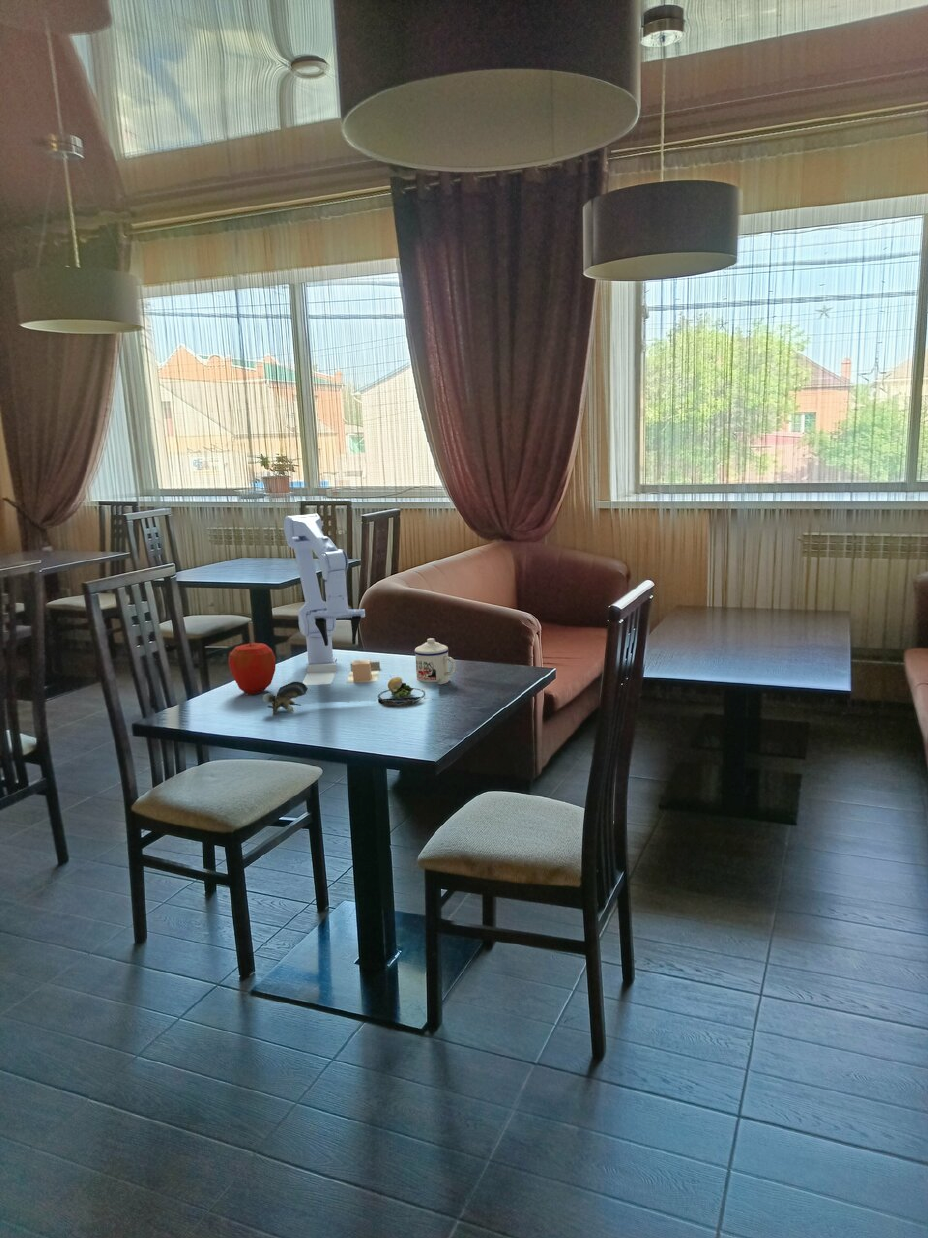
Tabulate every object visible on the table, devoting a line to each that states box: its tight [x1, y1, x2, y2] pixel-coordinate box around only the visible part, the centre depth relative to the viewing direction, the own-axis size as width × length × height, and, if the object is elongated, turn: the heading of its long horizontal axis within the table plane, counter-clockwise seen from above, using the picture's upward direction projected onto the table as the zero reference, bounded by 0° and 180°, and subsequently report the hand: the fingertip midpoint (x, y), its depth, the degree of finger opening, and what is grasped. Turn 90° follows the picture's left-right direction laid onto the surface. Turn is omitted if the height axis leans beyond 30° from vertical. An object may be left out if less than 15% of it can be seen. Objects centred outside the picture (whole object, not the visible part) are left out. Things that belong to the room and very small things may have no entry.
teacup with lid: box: [413, 637, 457, 686], centre depth 229 cm, size 12×9×12 cm
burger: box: [377, 676, 426, 708], centre depth 215 cm, size 12×12×8 cm
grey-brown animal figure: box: [262, 681, 309, 717], centre depth 211 cm, size 8×8×10 cm
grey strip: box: [301, 662, 338, 686], centre depth 236 cm, size 14×8×3 cm, turn 2°
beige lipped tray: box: [346, 660, 381, 684], centre depth 236 cm, size 14×8×3 cm, turn 2°
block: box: [352, 659, 372, 681], centre depth 232 cm, size 4×4×4 cm
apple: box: [227, 640, 277, 696], centre depth 227 cm, size 12×12×14 cm
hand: (340, 644), depth 237 cm, fingers open, 7 cm apart
